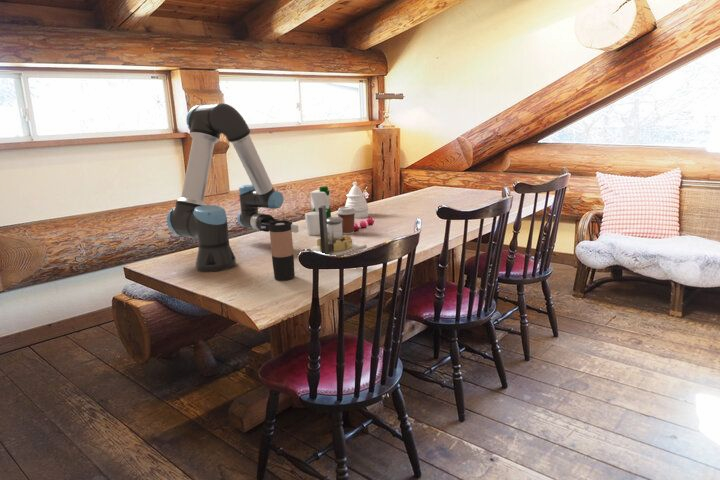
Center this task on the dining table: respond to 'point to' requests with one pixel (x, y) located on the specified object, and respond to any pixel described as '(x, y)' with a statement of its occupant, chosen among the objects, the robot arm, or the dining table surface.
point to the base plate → (355, 246)
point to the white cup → (312, 223)
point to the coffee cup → (347, 219)
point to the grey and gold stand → (323, 243)
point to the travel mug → (282, 250)
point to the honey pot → (357, 202)
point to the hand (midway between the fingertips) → (296, 229)
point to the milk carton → (321, 200)
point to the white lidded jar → (334, 229)
